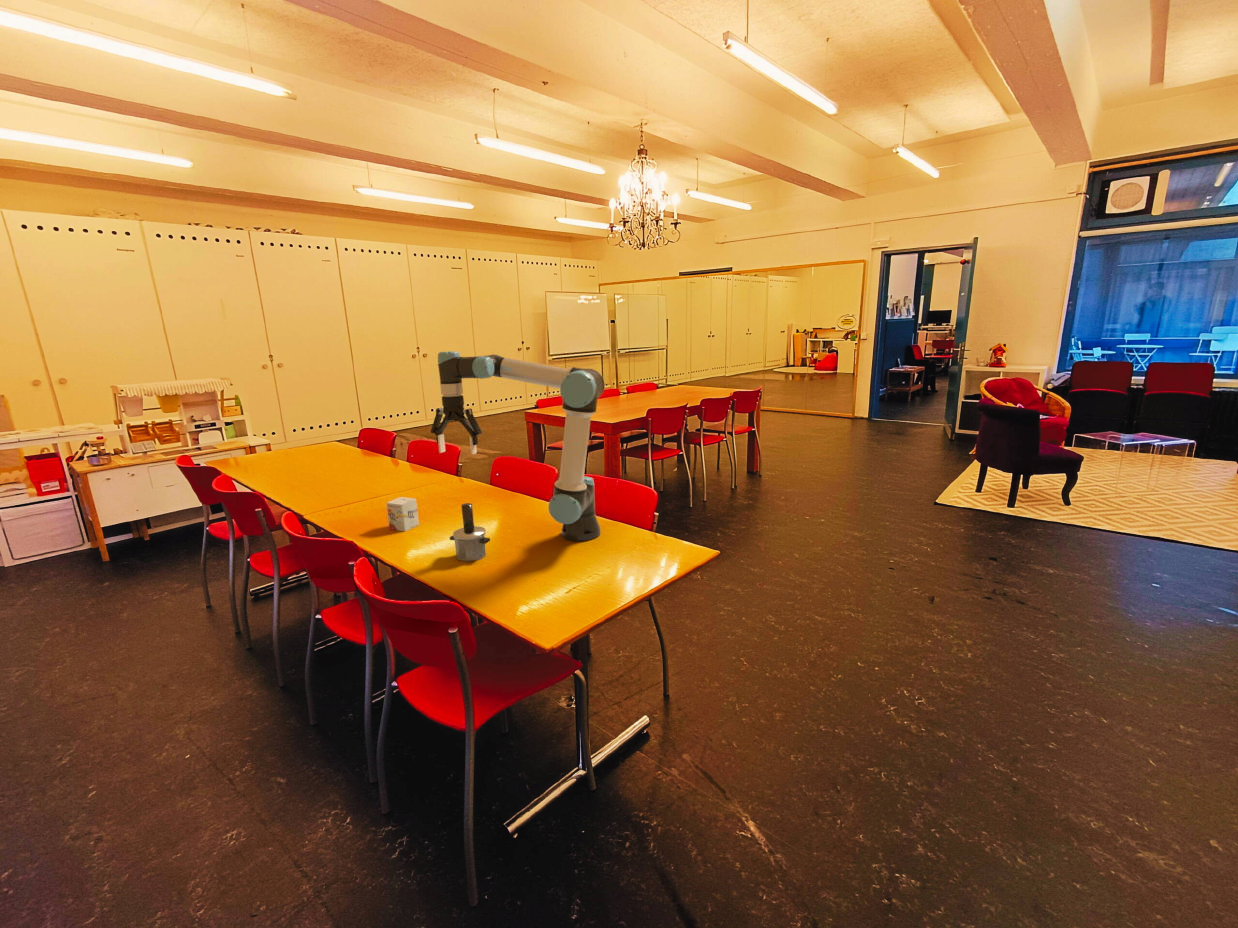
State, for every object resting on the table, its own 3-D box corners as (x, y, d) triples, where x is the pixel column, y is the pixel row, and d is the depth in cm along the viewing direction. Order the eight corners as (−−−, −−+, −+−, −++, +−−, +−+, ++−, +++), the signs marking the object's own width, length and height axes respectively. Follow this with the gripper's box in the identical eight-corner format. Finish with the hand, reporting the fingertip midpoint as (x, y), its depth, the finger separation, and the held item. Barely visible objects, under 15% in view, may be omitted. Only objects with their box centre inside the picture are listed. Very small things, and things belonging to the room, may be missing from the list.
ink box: (388, 529, 222) (385, 502, 219) (404, 522, 229) (400, 496, 227) (405, 531, 218) (401, 504, 216) (420, 524, 226) (416, 498, 223)
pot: (496, 552, 194) (494, 531, 193) (481, 563, 185) (479, 541, 183) (462, 548, 199) (460, 528, 197) (445, 559, 190) (443, 537, 188)
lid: (491, 530, 194) (488, 501, 191) (474, 541, 183) (471, 510, 181) (465, 528, 197) (462, 499, 194) (447, 538, 187) (443, 508, 184)
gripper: (488, 394, 193) (493, 452, 198) (430, 393, 201) (436, 449, 206) (476, 396, 186) (481, 456, 191) (416, 396, 194) (423, 453, 199)
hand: (458, 452), depth 198 cm, fingers open, 13 cm apart
